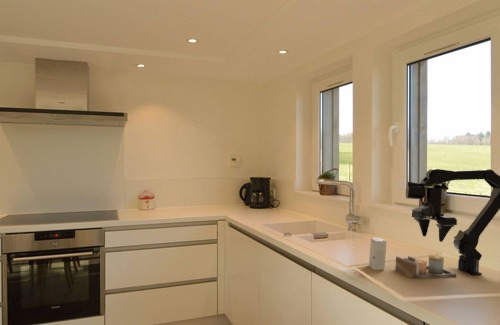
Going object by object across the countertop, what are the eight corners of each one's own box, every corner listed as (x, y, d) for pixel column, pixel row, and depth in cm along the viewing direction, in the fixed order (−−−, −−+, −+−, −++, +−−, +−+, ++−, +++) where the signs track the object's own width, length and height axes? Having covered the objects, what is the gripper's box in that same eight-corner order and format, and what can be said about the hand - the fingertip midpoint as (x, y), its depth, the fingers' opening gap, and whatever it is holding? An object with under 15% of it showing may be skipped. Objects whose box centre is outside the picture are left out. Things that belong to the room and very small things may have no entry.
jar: (420, 271, 135) (420, 259, 135) (429, 275, 130) (429, 263, 130) (408, 271, 134) (408, 259, 134) (417, 275, 129) (417, 263, 129)
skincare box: (368, 267, 140) (369, 237, 140) (379, 268, 140) (380, 237, 140) (373, 272, 134) (374, 240, 134) (385, 273, 134) (386, 241, 134)
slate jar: (436, 270, 136) (437, 255, 136) (446, 274, 131) (446, 258, 131) (425, 270, 135) (425, 255, 135) (434, 275, 130) (435, 258, 130)
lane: (436, 270, 139) (436, 255, 139) (455, 279, 129) (456, 263, 129) (395, 272, 136) (396, 256, 135) (412, 281, 126) (413, 264, 126)
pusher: (405, 270, 135) (406, 254, 135) (418, 276, 128) (419, 260, 128) (403, 270, 135) (404, 254, 135) (416, 276, 128) (416, 260, 127)
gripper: (401, 197, 149) (399, 234, 149) (433, 202, 131) (431, 245, 131) (424, 197, 151) (422, 233, 152) (458, 203, 133) (457, 244, 133)
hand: (432, 238), depth 142 cm, fingers open, 9 cm apart
